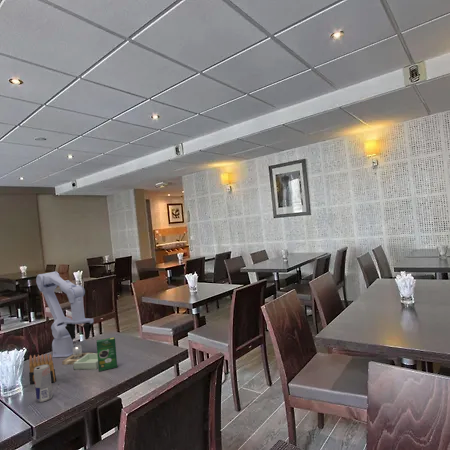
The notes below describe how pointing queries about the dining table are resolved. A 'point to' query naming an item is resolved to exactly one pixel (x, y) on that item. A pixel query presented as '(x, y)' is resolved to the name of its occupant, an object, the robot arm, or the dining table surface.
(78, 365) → the tray
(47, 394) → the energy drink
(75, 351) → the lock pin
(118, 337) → the dining table surface
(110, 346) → the coffee box
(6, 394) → the dining table surface
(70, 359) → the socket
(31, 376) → the ammunition clip
